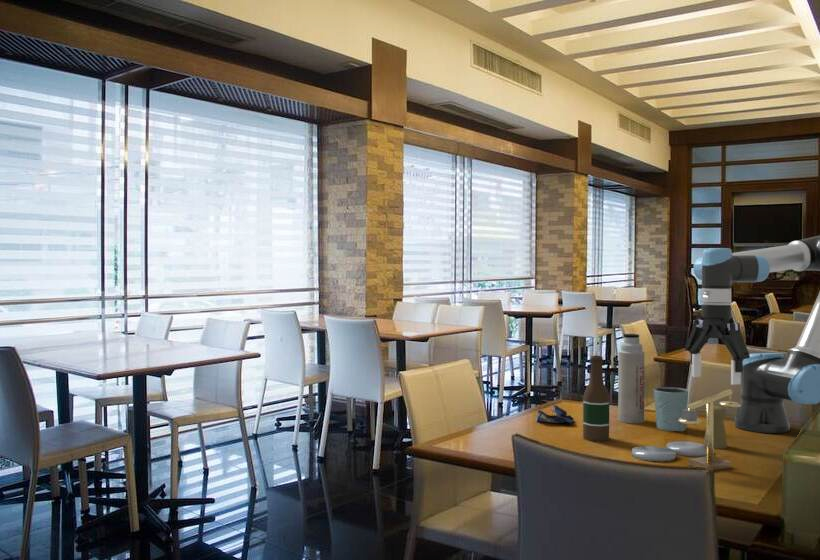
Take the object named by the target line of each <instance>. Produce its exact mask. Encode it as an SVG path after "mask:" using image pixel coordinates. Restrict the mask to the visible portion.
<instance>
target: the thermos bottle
mask: <svg viewBox="0 0 820 560" xmlns="http://www.w3.org/2000/svg"><path fill="white" fill-rule="evenodd" d="M622 336H623V343H621V344H620V350H618V363H617V365H618V370H617V371H618V373H617V377H618V378H617V379H618V382H617V383H618V387H617V388H618V390H617V393H618V397H617V399H618V400H617V401H618V405H617V407H618V408H617V412H618V413H617V415H618V417H617V421H619V422H621V423H625V424H642V423H644V422H645V351H643V345H642V343H640V334H637V333H624V334H622Z"/></svg>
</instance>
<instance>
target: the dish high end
mask: <svg viewBox="0 0 820 560" xmlns="http://www.w3.org/2000/svg"><path fill="white" fill-rule="evenodd" d="M666 448H668V449H671V450H673V451H675V452H676V455H677V454H678V456H682V457H683V456H685V457H694V458H699V457H706V445H704V443H699V442H693V441H686V440H685V441H681V440H680V441H669V442H668V443H666ZM698 456H699V457H698Z"/></svg>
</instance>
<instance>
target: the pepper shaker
mask: <svg viewBox="0 0 820 560" xmlns="http://www.w3.org/2000/svg"><path fill="white" fill-rule="evenodd" d="M726 415H727V411H726V409H725V408H724V406H720V405H714V423H713V449H717V450H718V449H719V450H721V449H722V450H723V449H727V448H728V442H727V435H726V427H725V421H724V420H725V418H726ZM705 416H706V417H707V407H706V409H705ZM706 427H707V425H706ZM703 439H704V441H703V444H704V445H706V431H705V434H704V438H703Z"/></svg>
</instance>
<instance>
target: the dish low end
mask: <svg viewBox="0 0 820 560" xmlns="http://www.w3.org/2000/svg"><path fill="white" fill-rule="evenodd" d="M631 456H632V457H634V458H636V459H638V460H641V459H642V461H646V460H648V461H647V462H654V461H656V462H655V463H657V461H660V462H661V463H666V462H665V461H667V462H672V461H671V460H673V461H674V459H675V458H676V459H677V454H676V452H675V451H673V450H671V449H668V448H667V447H663V446H653V445H641V446H640V445H639V446H634V447H632V449H631ZM676 459H675V460H676ZM660 462H659V463H660Z"/></svg>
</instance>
